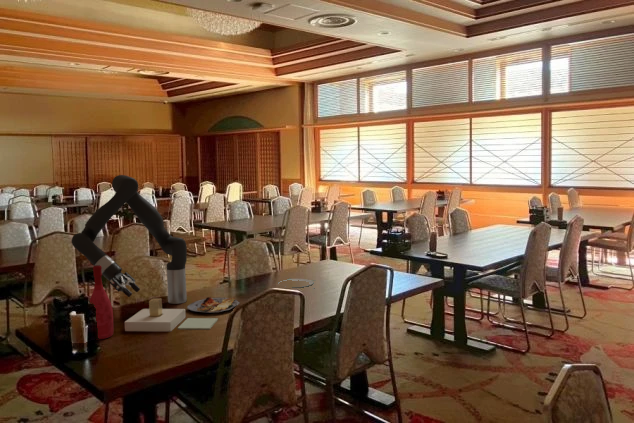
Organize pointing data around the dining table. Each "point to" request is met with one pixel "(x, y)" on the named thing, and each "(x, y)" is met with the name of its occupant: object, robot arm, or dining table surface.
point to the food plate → (213, 304)
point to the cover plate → (155, 320)
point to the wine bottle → (102, 306)
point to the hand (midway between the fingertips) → (134, 293)
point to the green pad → (198, 323)
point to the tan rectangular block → (155, 307)
